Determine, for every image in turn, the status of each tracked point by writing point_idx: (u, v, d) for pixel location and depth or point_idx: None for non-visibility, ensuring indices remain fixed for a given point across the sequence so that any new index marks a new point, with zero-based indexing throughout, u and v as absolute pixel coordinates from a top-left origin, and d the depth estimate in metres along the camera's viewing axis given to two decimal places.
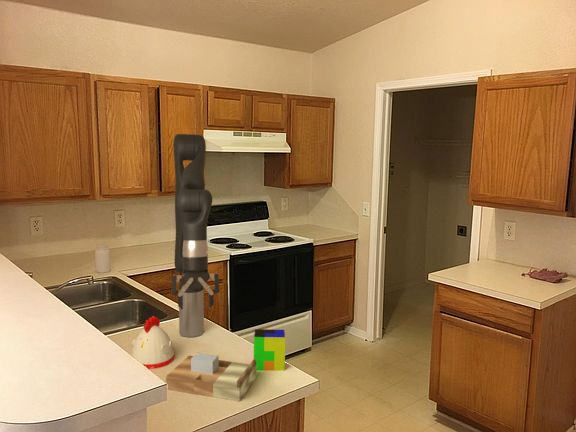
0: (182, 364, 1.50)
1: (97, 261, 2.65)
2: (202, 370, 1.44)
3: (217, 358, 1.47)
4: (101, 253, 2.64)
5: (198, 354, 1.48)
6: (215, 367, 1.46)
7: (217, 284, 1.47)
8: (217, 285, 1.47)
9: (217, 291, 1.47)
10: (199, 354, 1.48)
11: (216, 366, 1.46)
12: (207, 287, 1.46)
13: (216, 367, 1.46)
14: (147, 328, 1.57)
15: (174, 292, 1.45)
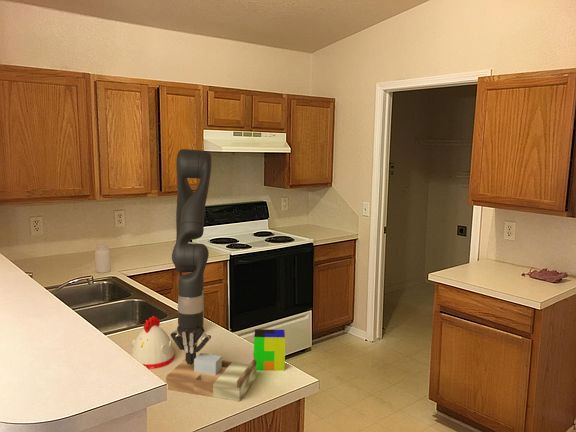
0: (182, 364, 1.50)
1: (97, 261, 2.65)
2: (206, 370, 1.44)
3: (220, 359, 1.46)
4: (101, 253, 2.64)
5: (201, 354, 1.47)
6: (219, 368, 1.45)
7: (200, 346, 1.44)
8: (200, 346, 1.44)
9: (196, 350, 1.45)
10: (202, 354, 1.47)
11: (219, 367, 1.46)
12: (191, 345, 1.44)
13: (219, 368, 1.46)
14: (147, 328, 1.57)
15: (181, 347, 1.46)
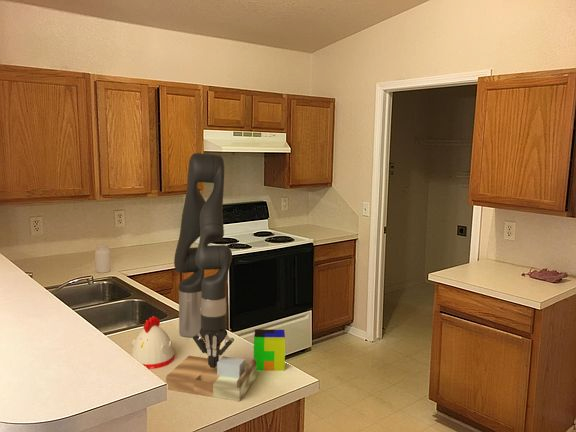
0: (182, 364, 1.50)
1: (97, 261, 2.65)
2: (229, 374, 1.42)
3: (243, 362, 1.44)
4: (101, 253, 2.64)
5: (224, 358, 1.46)
6: (242, 371, 1.44)
7: (224, 349, 1.42)
8: (223, 350, 1.42)
9: (219, 354, 1.43)
10: (225, 358, 1.46)
11: (242, 370, 1.44)
12: (214, 348, 1.43)
13: (242, 371, 1.44)
14: (147, 328, 1.57)
15: (203, 350, 1.44)
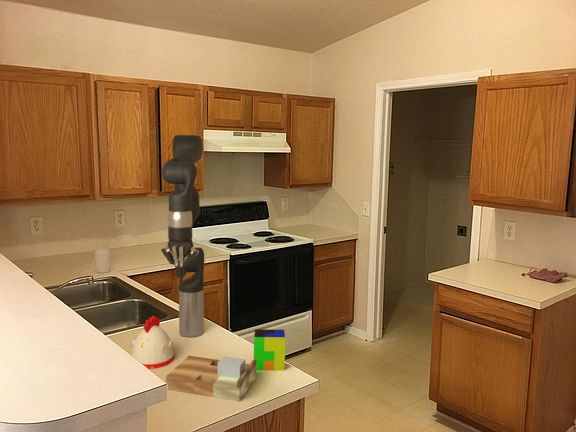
0: (182, 364, 1.50)
1: (97, 261, 2.65)
2: (229, 374, 1.42)
3: (244, 362, 1.44)
4: (101, 253, 2.64)
5: (224, 358, 1.46)
6: (242, 371, 1.44)
7: (190, 259, 1.53)
8: (189, 260, 1.53)
9: (186, 264, 1.53)
10: (225, 358, 1.46)
11: (243, 370, 1.44)
12: (181, 258, 1.53)
13: (243, 371, 1.44)
14: (147, 328, 1.57)
15: (171, 261, 1.54)
